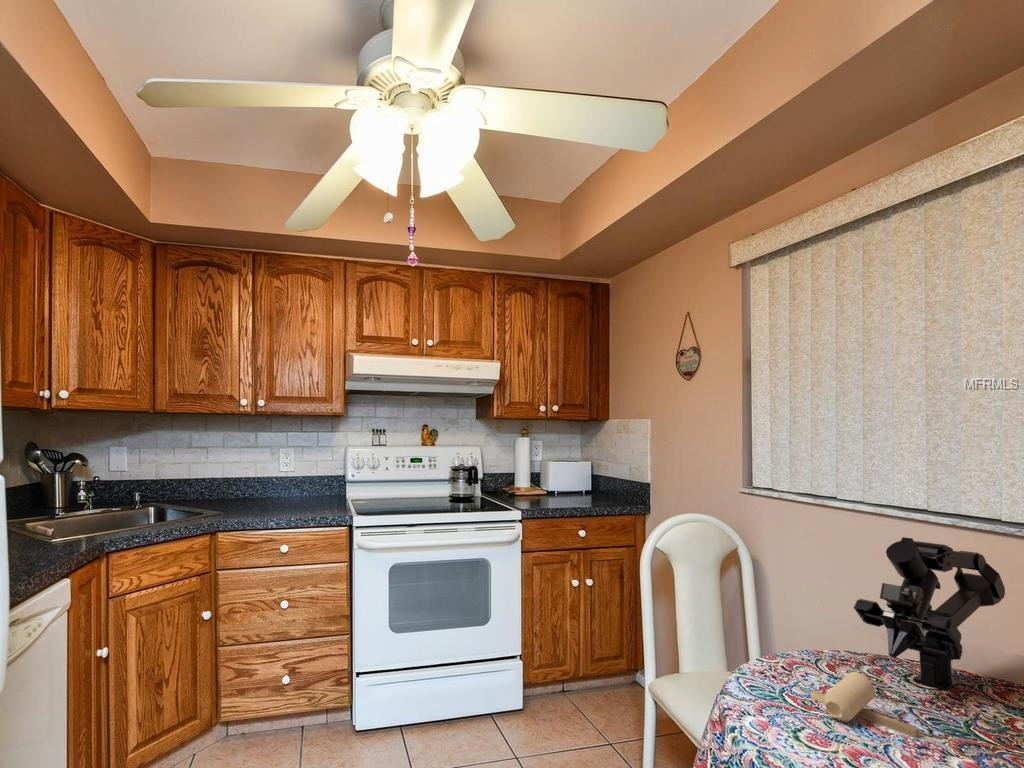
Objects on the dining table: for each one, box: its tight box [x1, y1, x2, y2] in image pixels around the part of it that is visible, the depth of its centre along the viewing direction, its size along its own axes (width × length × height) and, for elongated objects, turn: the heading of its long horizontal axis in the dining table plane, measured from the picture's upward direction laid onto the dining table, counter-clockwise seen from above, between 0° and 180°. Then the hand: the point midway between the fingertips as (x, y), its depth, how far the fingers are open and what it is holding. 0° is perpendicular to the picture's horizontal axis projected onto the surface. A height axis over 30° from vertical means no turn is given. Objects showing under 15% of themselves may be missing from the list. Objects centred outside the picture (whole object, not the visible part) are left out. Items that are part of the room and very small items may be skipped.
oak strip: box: [809, 690, 921, 738], centre depth 120 cm, size 1×20×1 cm, turn 32°
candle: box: [823, 671, 876, 723], centre depth 120 cm, size 6×6×10 cm
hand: (891, 656), depth 127 cm, fingers closed
